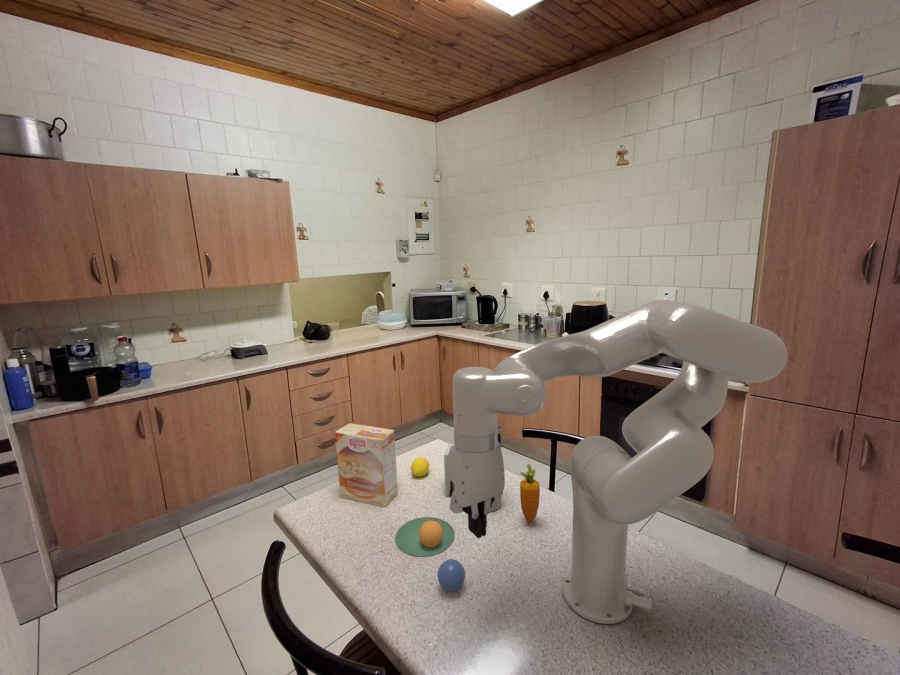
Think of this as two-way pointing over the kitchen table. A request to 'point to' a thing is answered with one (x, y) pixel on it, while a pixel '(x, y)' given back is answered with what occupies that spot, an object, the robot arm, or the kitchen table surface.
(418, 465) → the lemon
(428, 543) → the object ball
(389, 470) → the coffeecake box
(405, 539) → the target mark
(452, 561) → the blue ball
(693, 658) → the kitchen table surface
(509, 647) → the kitchen table surface
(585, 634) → the kitchen table surface
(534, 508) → the carrot
